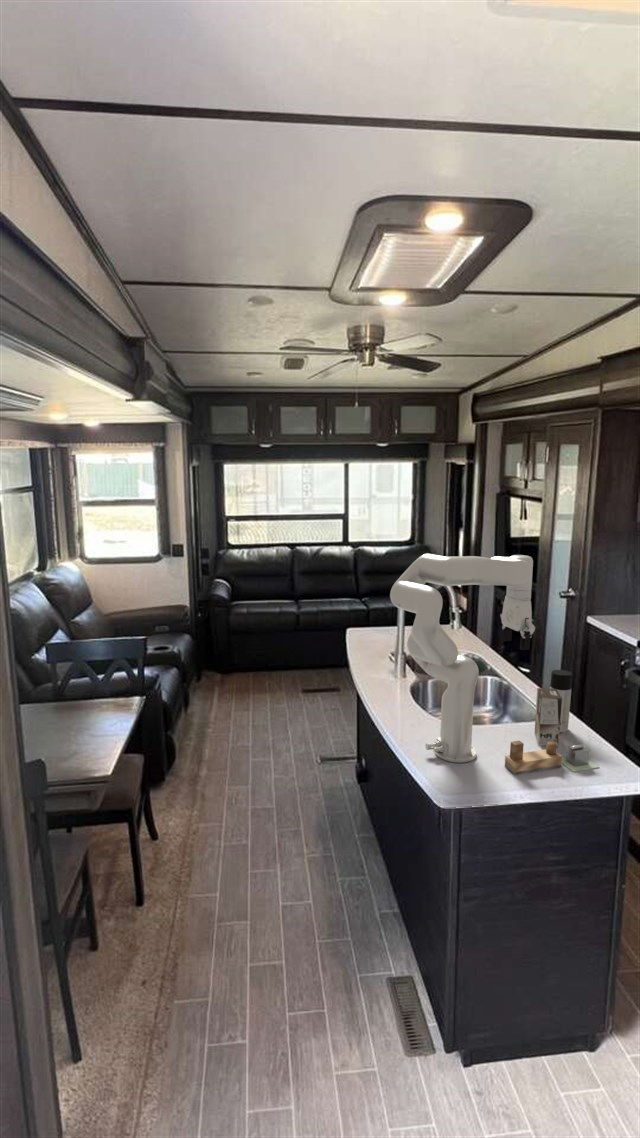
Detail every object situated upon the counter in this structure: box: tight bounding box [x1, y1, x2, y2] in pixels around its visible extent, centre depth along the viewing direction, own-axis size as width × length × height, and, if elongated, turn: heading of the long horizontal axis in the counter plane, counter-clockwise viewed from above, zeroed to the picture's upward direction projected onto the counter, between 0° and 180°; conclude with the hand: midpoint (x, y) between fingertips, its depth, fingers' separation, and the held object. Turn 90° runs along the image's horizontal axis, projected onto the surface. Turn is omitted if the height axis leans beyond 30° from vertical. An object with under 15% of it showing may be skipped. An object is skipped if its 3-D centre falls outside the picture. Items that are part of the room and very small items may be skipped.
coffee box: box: [534, 687, 562, 747], centre depth 196 cm, size 9×6×16 cm
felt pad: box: [562, 756, 600, 773], centre depth 182 cm, size 9×8×1 cm
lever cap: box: [565, 744, 590, 767], centre depth 181 cm, size 5×4×6 cm
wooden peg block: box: [504, 740, 563, 776], centre depth 179 cm, size 16×5×8 cm, turn 107°
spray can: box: [549, 669, 573, 734], centre depth 203 cm, size 7×7×20 cm
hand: (515, 645), depth 197 cm, fingers open, 9 cm apart
